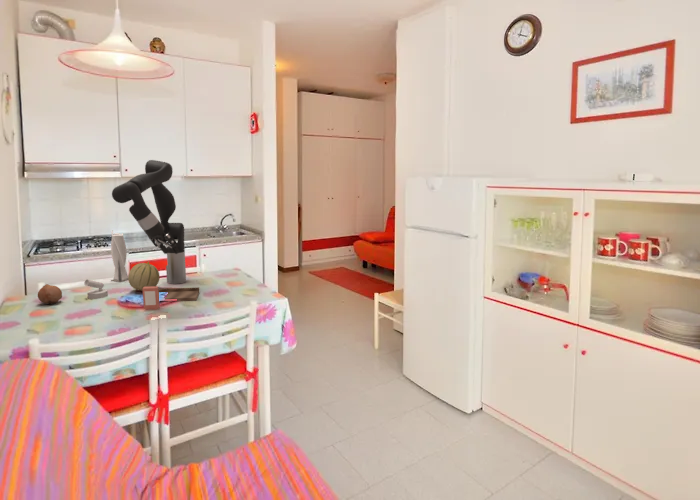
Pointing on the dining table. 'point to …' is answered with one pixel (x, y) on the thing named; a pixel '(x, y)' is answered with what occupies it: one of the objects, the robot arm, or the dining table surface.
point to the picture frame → (151, 297)
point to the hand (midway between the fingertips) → (172, 252)
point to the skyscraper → (119, 257)
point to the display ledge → (181, 293)
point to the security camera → (97, 292)
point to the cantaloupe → (143, 276)
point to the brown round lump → (49, 294)
